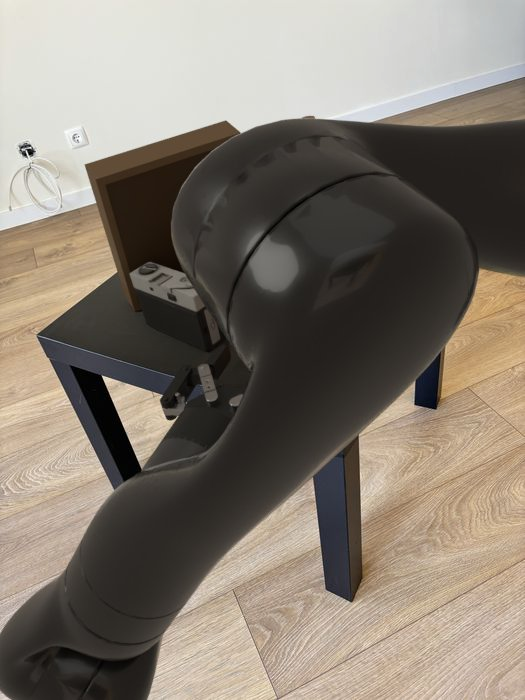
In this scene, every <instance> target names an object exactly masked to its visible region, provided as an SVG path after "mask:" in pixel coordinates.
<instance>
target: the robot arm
mask: <svg viewBox="0 0 525 700" xmlns="http://www.w3.org/2000/svg"><path fill="white" fill-rule="evenodd" d="M171 235H172V242H173V246H174V249H175V252H176V255H177V258H178V260H179V262H180V265H181V267H182V269H183V271H184V273H185V275H186V277H187V278H188V280H189V282H190V283H191V285H192V286H193V288H194V289H195V291H196V293H197V294H198V296H199V297H200V299H201V300H202V302H203V304H204V306H205V307H206V308H207V310H208V311H209V313H210V314H211V316H212V317H213V319H214V320H215V322H216V323H217V325H218V326H219V328H220V329H221V331H222V332H223V334H224V335H225V339H226V340H227V341H228V343H229V344H230V346H231V347H232V349H233V350H234V351H235V352H236V355H237V356H238V358H239V359H240V360H241V361H242V363H243V364H244V365H245V367H246V368H247V370H248V371H249V372H250V375H249V378H248V381H247V383H246V386H245V387H236V386H233V385H231V384H226V383H223V384H222V385H219V386H216V385H215V381H218V380H219V379H220V377H221V376H222V374H223V372H224V371H225V369H226V368H227V367H228V365H229V363H230V362H231V360H232V354H231V350H230V346H229V345H228V344H221V345H219V347H218V348H216V349H214V350H213V351H212V352H211V354H210V355H209V356H208V357H207V359H206V361H205V362H204V363H201V364H199V365H198V366H197V367H192V366H191V365H190V364H184V365H182V366H181V367H180V368H179V370H178V371H177V373H176V374H175V376H174V377H173V379H172V381H171V382H170V384H169V385H168V387H167V388H166V390H165V391H164V393H163V394H162V395H161V397H160V398H159V402H160V406H161V409H162V412H163V414H164V417H165V420H167V421H174V422H173V424H171V426H170V428H169V429H168V430H167V432H166V433H165V435H164V436H163V437H162V439H161V441H160V442H159V443H158V445H157V447H155V449H154V451H153V452H152V454H151V455H150V457H149V458H148V460H146V462H145V464H144V466H143V467H142V469H141V470H140V471H139V472H138V473H135V474H134V475H133V476H131V477H129V478H128V479H127V480H125V481H123V482H122V483H121V484H120V485H118V486H117V487H116V488H115V489H114V490H113V491H112V492H111V494H110V495H109V496H108V497H107V498H106V499H105V500H104V501H103V503H102V504H101V505H100V507H98V509H97V511H96V512H95V514H94V515H93V517H92V519H91V521H90V523H89V524H88V526H87V528H86V530H85V532H84V533H83V535H82V537H81V539H80V541H79V543H78V545H77V547H76V549H75V551H74V553H73V555H72V556H71V558H70V560H69V562H68V564H67V565H66V567H65V569H64V570H63V571H62V572H61V573H60V574H59V575H58V576H57V577H55V578H54V579H52V580H51V581H50V582H48V583H47V584H45V585H44V586H43V587H41V588H40V589H39V590H38V591H36V592H35V593H33V594H32V595H31V596H30V597H29V598H28V599H27V600H26V601H24V603H23V604H22V605H20V607H19V608H17V610H16V611H15V612H14V613H13V614H12V615H11V617H10V618H9V619H8V621H7V622H6V623H5V624H4V626H3V628H2V629H1V631H0V692H1V693H2V695H4V696H5V697H6V698H7V699H8V700H148V699H149V696H150V694H151V690H152V687H153V683H154V680H155V675H156V671H157V667H158V662H159V659H160V654H161V653H160V652H161V649H162V643H163V638H164V635H165V633H166V632H167V631H168V629H169V628H170V626H171V625H172V624H173V622H174V621H175V620H176V618H177V617H178V616H179V614H180V613H181V612H182V610H183V609H184V608H185V606H186V605H187V604H188V603H189V601H190V600H191V598H192V597H193V596H194V594H195V593H196V592H197V591H198V589H199V588H200V586H201V585H202V583H203V582H204V581H205V579H206V578H207V577H208V576H209V574H210V573H211V572H212V571H213V570H214V568H216V567H217V566H218V564H219V563H220V562H221V561H222V560H223V559H224V558H225V557H226V556H227V554H228V553H230V551H232V550H233V549H234V548H235V547H236V546H237V545H238V544H239V543H241V541H242V540H243V539H244V538H246V537H247V536H248V535H249V534H250V533H251V532H252V531H254V529H256V528H257V527H258V526H259V525H260V524H261V523H263V522H264V521H265V520H267V518H268V517H269V516H271V514H273V513H275V511H276V510H278V509H279V508H280V507H281V506H282V505H283V504H284V503H286V502H287V501H288V500H289V499H291V497H292V496H294V495H295V494H296V493H297V492H298V491H299V490H301V488H303V487H304V486H305V485H306V484H307V483H308V482H309V481H310V480H311V479H312V478H314V477H315V476H316V475H317V474H318V473H319V472H320V471H321V470H322V469H323V468H324V467H325V466H327V465H328V464H329V463H330V462H331V461H332V460H333V459H334V458H336V456H337V455H338V454H340V453H341V452H342V451H343V450H344V449H345V448H346V447H347V446H348V445H349V444H351V443H352V442H353V441H354V440H355V439H356V438H357V437H358V436H359V435H360V434H361V433H363V432H364V430H366V429H367V428H368V427H369V426H370V425H371V424H373V422H374V421H375V420H376V419H378V417H380V416H381V415H382V414H383V413H384V412H385V411H386V410H387V409H388V408H389V407H391V406H392V405H393V404H394V403H395V402H396V401H397V400H398V399H399V398H400V396H402V395H403V394H404V393H405V392H406V391H407V390H408V389H409V388H410V387H411V386H412V385H413V384H414V383H415V382H416V381H417V379H418V378H419V377H420V376H421V375H422V374H423V373H424V372H425V371H426V370H427V368H429V367H430V365H431V364H433V362H434V361H435V359H436V358H437V357H438V356H439V354H440V353H441V352H442V351H443V350H444V349H445V347H446V346H447V345H448V343H449V342H450V340H451V339H452V337H453V335H454V334H455V332H456V331H457V330H458V328H459V326H461V323H462V321H463V320H464V318H465V316H466V314H467V312H468V310H469V308H470V306H471V304H472V302H473V299H474V296H475V293H476V290H477V286H478V285H477V284H478V280H479V274H480V270H484V271H489V272H494V273H497V274H498V273H499V274H504V275H507V276H513V277H519V278H522V279H523V278H524V279H525V118H522V119H511V120H502V121H493V122H485V123H476V124H475V123H473V124H466V125H416V124H415V125H413V124H399V123H398V124H397V123H383V122H382V123H381V122H369V121H358V120H357V121H356V120H346V119H345V120H343V119H332V118H331V119H328V118H315V119H313V118H302V117H299V118H287V119H281V120H280V119H279V120H275V121H272V122H268V123H264V124H260V125H256V126H254V127H252V128H249V129H247V130H245V131H242V132H241V133H240V134H238V135H236V136H234V137H232V138H231V139H229V140H228V141H226V142H225V143H223V144H222V145H220V146H219V147H217V148H216V149H214V150H213V151H212V152H211V153H210V154H208V155H207V156H206V157H205V158H204V159H203V160H202V161H201V162H200V163H199V164H198V165H197V166H196V167H195V168H194V170H193V171H192V173H191V174H190V175H189V177H188V178H187V180H186V181H185V182H184V184H183V185H182V187H181V190H180V192H179V194H178V197H177V199H176V202H175V204H174V207H173V214H172V221H171ZM196 386H202V391H203V393H202V394H200V395H198V396H196V397H194V398H192V399H190V400H189V398H190V396H191V395H192V393H193V392H194V390H195V388H196Z"/></svg>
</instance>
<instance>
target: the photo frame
mask: <svg viewBox="0 0 525 700" xmlns="http://www.w3.org/2000/svg"><path fill="white" fill-rule="evenodd" d="M240 133H242V132H241V131H239V130H238V129H237V128H236V127H235V126H234V125H233V124H231V123H230V122H229V121H228V120H222V121H219V122H215V123H213V124H210V125H206V126H203V127H199V128H196V129H194V130H190V131H187V132H184V133H180V134H177V135H174V136H171V137H168V138H164V139H161V140H159V141H155V142H152V143H149V144H145V145H143V146H140V147H139V146H138V147H136V148H133V149H129V150H126V151H123V152H119V153H117V154H113V155H111V156H107V157H104V158H100V159H98V160H94V161H90V162H88V163H84V168H85V170H86V171H85V172H86V174H87V177H88V180H89V184H90V187H91V191H92V195H93V197H94V201H95V203H96V207H97V210H98V213H99V217H100V219H101V223H102V226H103V230H104V233H105V237H106V239H107V243H108V246H109V249H110V252H111V255H112V258H113V259H112V260H113V262H114V265H115V268H116V269H115V270H116V272H117V275H118V278H119V281H120V285H121V289H122V291H123V294H124V297H125V299H126V300H127V302H128V304H129V305H130V307H131V308H132V310H133V311H134V313H136V312H140V311H142V308H141V305H140V303H139V300H138V297H137V294H136V291H135V290H136V289H134V286H133V283H132V280H131V277H130V273H131V272H133V271H134V270H136V269H138V268H139V267H141V266H143V265H144V264H146V263H148V262H152V263H155V264H158V265H161V266H164V267H167V268H170V269H173V270H176V271H179V272H182V273H184V271H183V269H182V267H181V265H180V262H179V260H178V258H177V255H176V252H175V249H174V246H173V242H172V235H171V221H172V214H173V207H174V204H175V202H176V199H177V197H178V194H179V192H180V190H181V187H182V185H183V184H184V182H185V181H186V180H187V178H188V177H189V175H190V174H191V173H192V171H193V170H194V168H195V167H196V166H197V165H198V164H199V163H200V162H201V161H202V160H203V159H204V158H205V157H206V156H207V155H208V154H210V153H211V152H212V151H213V150H214V149H216V148H217V147H219V146H220V145H222V144H223V143H225V142H226V141H228V140H229V139H231V138H232V137H234V136H236V135H238V134H240Z"/></svg>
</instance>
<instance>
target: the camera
mask: <svg viewBox="0 0 525 700" xmlns="http://www.w3.org/2000/svg"><path fill="white" fill-rule="evenodd" d="M130 277H131V280H132V283H133V286H134V289H136V290H135V291H136V294H137V297H138V300H139V303H140V305H141V308H142V310H141V311H142V314H143V317H144V320H145V322H146V325H147V326H149V327H151V328H153V329H155V330H157V331H159V332H162V333H164V334H166V335H169V336H171V337H173V338H176V339H177V340H180V341H182V342H185V343H187V344H189V345H191V346H193V347H195V348H198V349H200V350H202V351H205V352H210V351H211V350H213V349H214V348H215V347H216V346H218V345H219V344H220V343H221V342H223V341H224V340H225V339H226V337H225V335H224V334H223V332H222V331H221V329H220V328H219V326H218V325H217V323H216V322H215V320H214V319H213V317H212V316H211V314H210V313H209V311H208V310H207V308H206V307H205V306H204V304H203V302H202V300H201V299H200V297H199V296H198V294H197V293H196V291H195V289H194V288H193V286H192V285H191V283H190V282H189V280H188V278H187V277H186V275H185V273H182V272H179V271H176V270H173V269H170V268H167V267H164V266H161V265H158V264H155V263H152V262H148V263H146V264H144V265H143V266H141V267H139V268H138V269H136V270H134V271H133V272H131V273H130Z"/></svg>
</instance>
